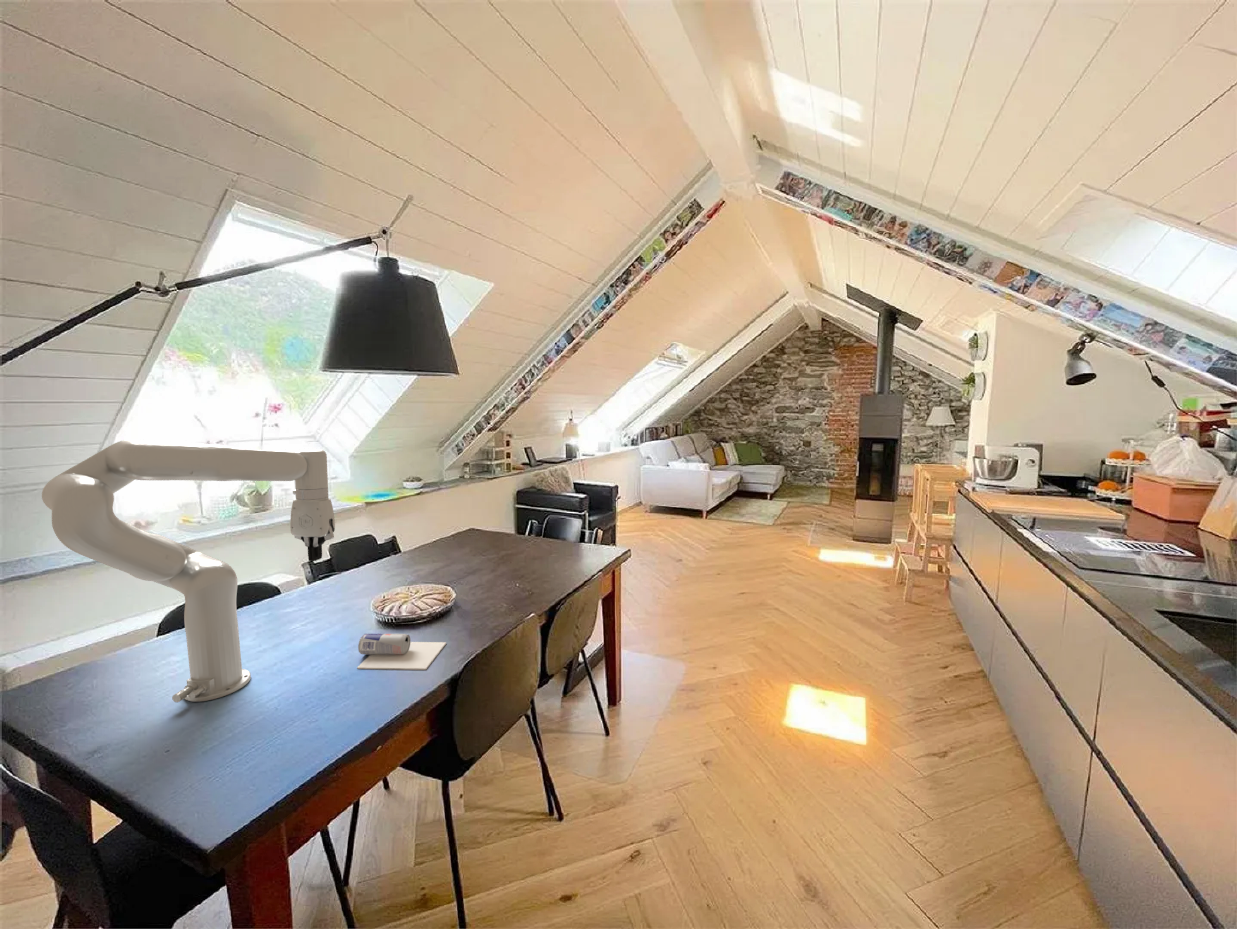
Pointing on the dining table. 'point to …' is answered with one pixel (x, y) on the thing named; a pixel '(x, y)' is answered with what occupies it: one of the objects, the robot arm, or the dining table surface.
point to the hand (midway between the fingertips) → (315, 559)
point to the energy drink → (384, 644)
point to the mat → (406, 657)
